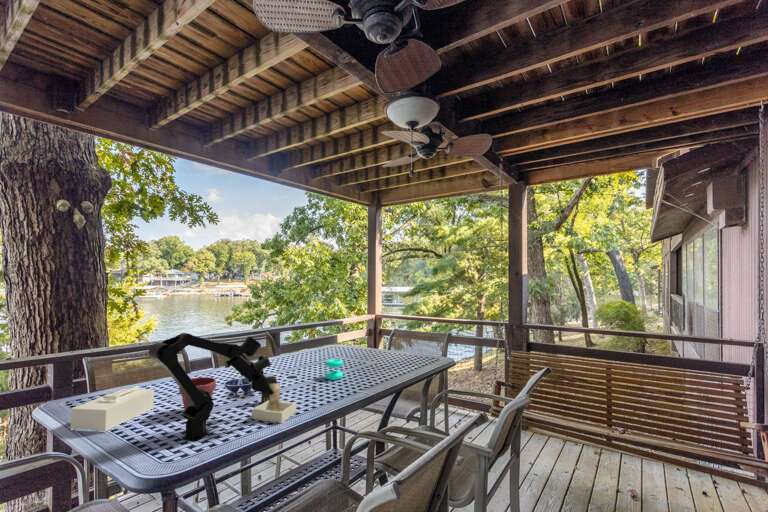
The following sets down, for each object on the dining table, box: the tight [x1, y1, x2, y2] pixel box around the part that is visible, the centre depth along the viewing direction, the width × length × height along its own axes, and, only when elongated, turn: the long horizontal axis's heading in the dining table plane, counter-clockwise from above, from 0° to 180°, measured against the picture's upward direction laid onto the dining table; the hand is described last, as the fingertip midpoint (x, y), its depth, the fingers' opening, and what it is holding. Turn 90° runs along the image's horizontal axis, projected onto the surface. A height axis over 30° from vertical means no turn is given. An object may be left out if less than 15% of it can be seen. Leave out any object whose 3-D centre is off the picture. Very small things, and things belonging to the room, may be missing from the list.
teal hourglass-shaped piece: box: [325, 358, 344, 381], centre depth 212 cm, size 10×10×10 cm
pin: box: [269, 382, 281, 412], centre depth 155 cm, size 4×4×12 cm
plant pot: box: [178, 376, 217, 411], centre depth 160 cm, size 14×14×13 cm
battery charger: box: [260, 375, 278, 404], centre depth 172 cm, size 7×4×11 cm, turn 113°
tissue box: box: [69, 385, 155, 431], centre depth 152 cm, size 14×25×11 cm, turn 174°
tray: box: [251, 401, 297, 424], centre depth 155 cm, size 12×14×4 cm
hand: (271, 390), depth 154 cm, fingers open, 9 cm apart
